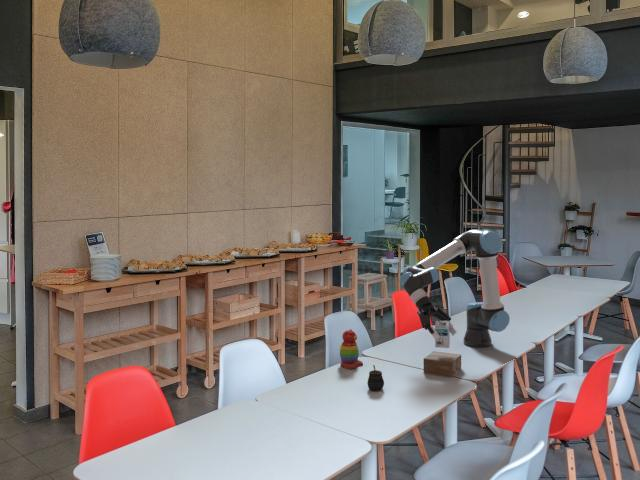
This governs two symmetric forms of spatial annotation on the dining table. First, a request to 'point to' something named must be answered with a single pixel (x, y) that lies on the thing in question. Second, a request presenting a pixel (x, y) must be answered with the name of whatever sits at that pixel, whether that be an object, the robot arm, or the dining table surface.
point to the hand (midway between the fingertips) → (446, 336)
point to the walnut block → (442, 364)
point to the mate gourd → (375, 380)
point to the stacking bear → (349, 351)
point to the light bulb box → (442, 334)
